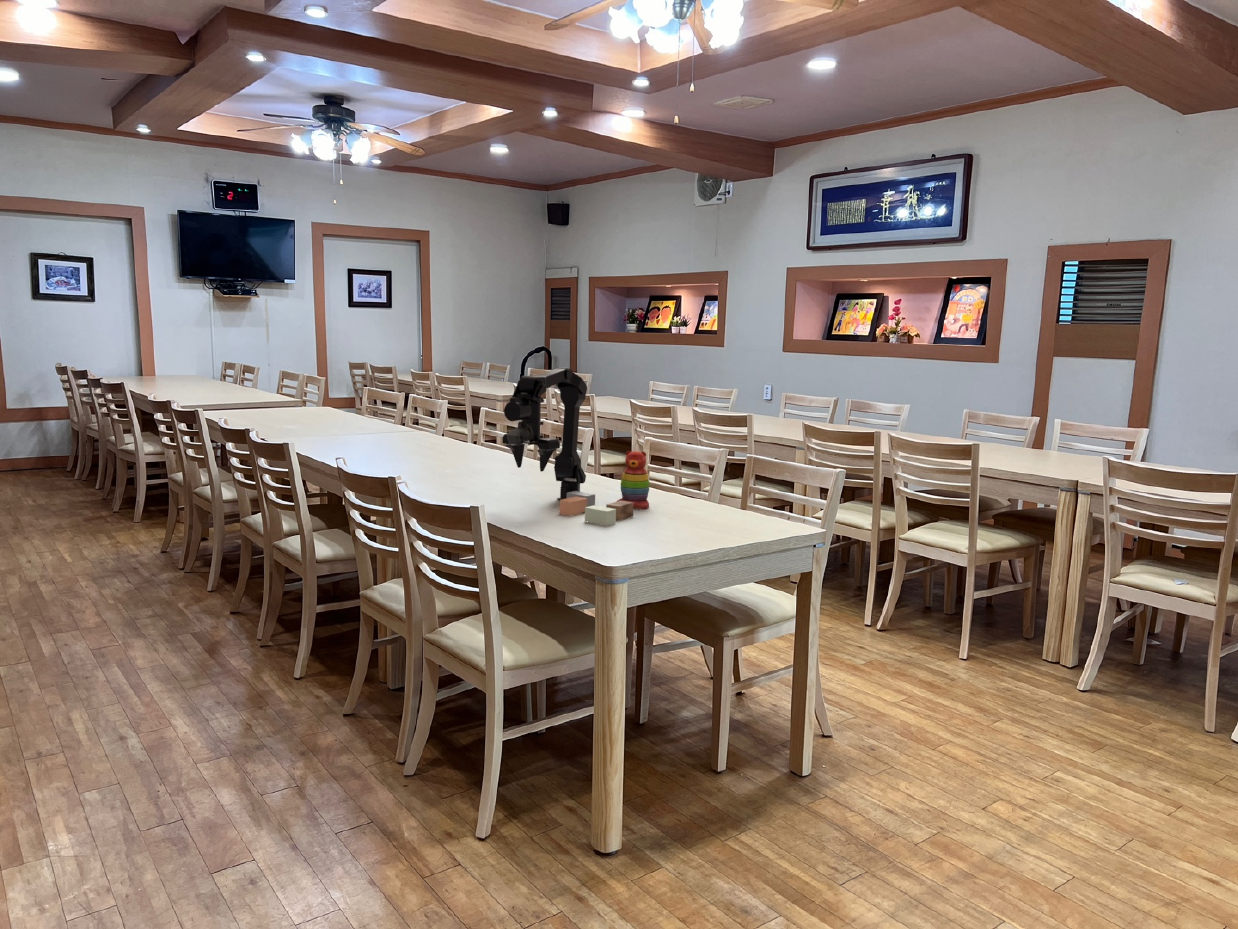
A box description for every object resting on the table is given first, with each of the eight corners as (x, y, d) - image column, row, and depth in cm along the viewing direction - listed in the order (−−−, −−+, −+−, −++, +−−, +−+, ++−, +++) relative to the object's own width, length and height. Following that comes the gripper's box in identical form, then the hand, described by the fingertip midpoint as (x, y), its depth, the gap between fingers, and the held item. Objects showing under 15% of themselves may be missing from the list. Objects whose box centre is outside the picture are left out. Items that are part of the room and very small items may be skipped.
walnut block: (621, 514, 270) (621, 500, 269) (633, 517, 267) (633, 502, 267) (605, 519, 263) (606, 504, 263) (618, 521, 261) (618, 506, 260)
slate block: (566, 506, 279) (566, 492, 279) (575, 504, 283) (575, 490, 282) (586, 510, 275) (586, 496, 274) (594, 508, 278) (595, 494, 278)
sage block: (584, 522, 258) (585, 507, 257) (593, 520, 261) (594, 505, 261) (606, 526, 253) (607, 511, 253) (615, 524, 257) (616, 509, 256)
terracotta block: (575, 510, 274) (575, 496, 273) (586, 512, 271) (587, 498, 271) (559, 514, 267) (559, 500, 267) (570, 516, 265) (571, 502, 264)
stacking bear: (613, 506, 281) (615, 451, 278) (622, 501, 290) (624, 448, 287) (645, 510, 278) (648, 454, 275) (653, 504, 287) (656, 450, 284)
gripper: (489, 417, 261) (489, 468, 264) (536, 423, 250) (535, 477, 253) (515, 414, 270) (514, 464, 273) (561, 420, 259) (560, 472, 262)
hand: (530, 469), depth 265 cm, fingers open, 9 cm apart
